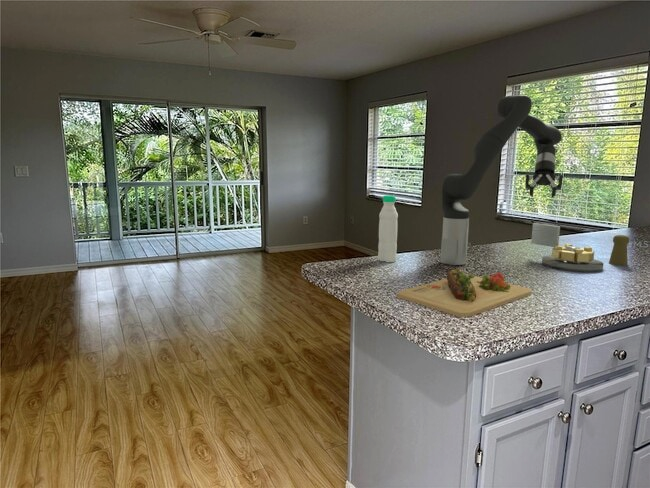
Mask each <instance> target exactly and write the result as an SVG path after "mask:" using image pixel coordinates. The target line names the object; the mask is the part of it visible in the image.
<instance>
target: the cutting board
mask: <svg viewBox="0 0 650 488" xmlns="http://www.w3.org/2000/svg"><path fill="white" fill-rule="evenodd" d="M531 295H532V290H531V288H529V287H523V286H519V285H514V284H511V283H507V281H505V277H504V275H503V274H502V273H501V272H499V271H498V272H497V273H494V274H492V275H491V276H489V275H487V274H482V277H481V276H476V275H474V274H467V273H464V271H462V270H461V269H459V268H457V269H452V270H449V271H448V272H447V274H446V278H445V279H441V280H436V281H433V282H430V283H425V284H422V285H418V286H414V287H409V288H406V289H402V290H399V291H398V292H397V298H398V297H399V298H400V299H402V300H405V301H408V302H411V303H415V304H418V305H420V306H421V305H422V306H425V307H427V308H430V309H433V310H437V311H441V312H443V313H447V314H450V315H453V316H455V317H456V316H457V317H459V318H462V317H463V318H464V317H467V318H469V317H473V316H475V315H478V314H481V313H484V312H486V311H489V310H492V309H495V308H497V307H500V306H503V305H506V304H509V303H510V302H514V301H516V300H519V299H523V298H526V297H527V296H531ZM399 298H398V299H399Z"/></svg>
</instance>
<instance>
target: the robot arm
mask: <svg viewBox="0 0 650 488" xmlns="http://www.w3.org/2000/svg"><path fill="white" fill-rule="evenodd" d="M532 106H533V102H532V99H531V97H530V96H528V95H525V94H516V95H506V96H503V97H502V98H501V99H499V101H498V103H497V114H498V116H499V117H500V118H501V119H502V120H501V121H499V122H497V123H495V124H494V125H493V126H491V127H489V128H488V129H487V130H485V131H484V132H483V133H482V135H481V136H480V137H479V138H478V140H477V141H476V143H475V144H474V145H473V149H472V150H473V151H472V159H473V162H472V164H471V166H470V168H469V169H468V170H467V171H466V172H465V173H450V174H448V175H446V176H445V178H444V179H443V181H442V187H441V209H442V212H443V220H442V235H441V236H442V237H441V246H440V248H441V249H440V264H445V265H451V266H461V265H462V266H463V265H466V264H467V257H468V255H467V254H468V240H469V227H470V226H469V225H470V211H469V209H467V208H466V207H464V206H463V204H462V203H461V200H462V201H466V200H469V199H471V198H472V197H473V196H474V195H475V193H476V192H477V190H478V188H479V186H480V185H481V183H482V180H483V179H484V178H485V175H486V174H487V172H488V170H489V169H490V167H491V165H492V164H493V162H494V161H495V160H496V159H497V157H498V156H499V154H500V153H501V151H502V150H503V148H504V147H505V145H506V144H507V142H508V141H509V140H510V138H511V137H512V135H513V134H514V133H515V131H516V130H517V129H518V128H519V129H521V130H523V131H524V132H525V133H526V134H528V135H529V136H530V137H532V138H533V142H534V144H535V147H536V152H537V153H536V158H535V159H536V160H535V165H534V174H532V175H530V174H526V175H525V184H524V185H525V189H526V190H529V192H528V193H529V196H530V197H531V198H533V197H534V191H535V189H536V188H537V187H539V186H541V187H542V186H547V187H549V188H550V189H551V197H550V198H551V199H554V197H556V194H557V193H556V192H557V191H561V190H562V185H563V179H564V175H562V174H560V175H559V176H557V175H555V172H556V147H555V145H558V144H560V142H561V141H562V135H563V134H562V133H561V130H559V129H558V128H557V127H555V126H552V125H549V124H546V123H545V122H544V121H543V120H541V118H539V117H538V116H536V115H532V114H530V113H531V110H532ZM531 181H533V182H532V183H531V184H530V182H531ZM555 181H556V182H557V183H558V184H556V183H555Z"/></svg>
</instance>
